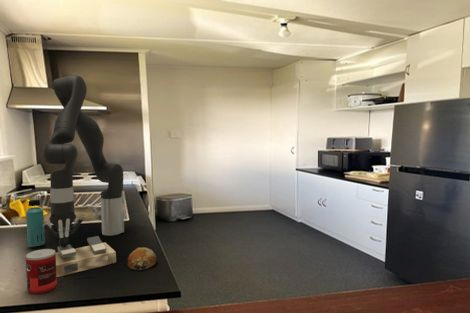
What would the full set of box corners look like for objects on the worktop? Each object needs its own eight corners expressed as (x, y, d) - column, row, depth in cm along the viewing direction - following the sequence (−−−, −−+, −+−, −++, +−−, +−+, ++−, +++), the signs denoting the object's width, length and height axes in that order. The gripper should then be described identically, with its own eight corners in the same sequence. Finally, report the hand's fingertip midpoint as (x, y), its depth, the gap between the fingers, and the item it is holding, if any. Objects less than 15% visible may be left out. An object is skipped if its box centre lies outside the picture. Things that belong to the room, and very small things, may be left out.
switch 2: (98, 240, 124) (98, 235, 124) (105, 253, 117) (106, 248, 116) (87, 242, 122) (87, 237, 121) (94, 256, 114) (94, 250, 114)
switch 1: (70, 249, 118) (69, 243, 118) (76, 257, 110) (76, 251, 110) (57, 252, 116) (57, 246, 115) (63, 260, 108) (62, 254, 108)
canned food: (35, 282, 102) (33, 249, 101) (61, 281, 102) (60, 248, 102) (21, 294, 94) (19, 258, 93) (49, 293, 95) (48, 257, 94)
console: (105, 252, 128) (105, 242, 127) (116, 262, 117) (116, 252, 117) (48, 264, 115) (47, 254, 115) (54, 278, 105) (54, 266, 104)
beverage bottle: (37, 250, 129) (34, 202, 128) (23, 249, 130) (20, 201, 129) (49, 245, 136) (47, 198, 134) (36, 244, 137) (33, 198, 135)
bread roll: (158, 272, 117) (163, 250, 120) (143, 271, 108) (149, 247, 111) (136, 269, 120) (141, 247, 123) (119, 267, 111) (125, 244, 114)
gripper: (79, 195, 121) (81, 240, 123) (39, 200, 113) (41, 247, 115) (84, 199, 115) (86, 245, 117) (42, 204, 107) (44, 254, 109)
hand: (63, 246), depth 116 cm, fingers closed
